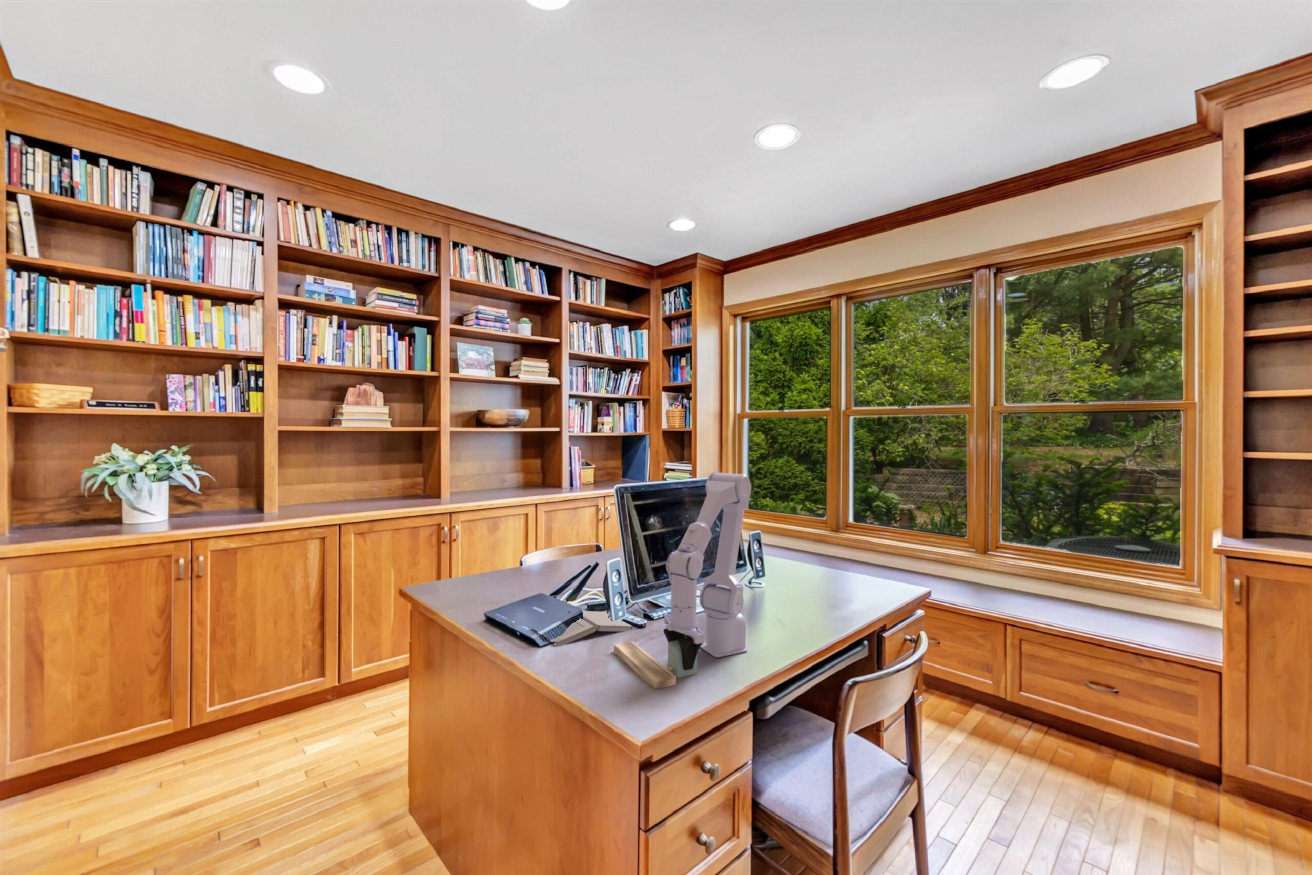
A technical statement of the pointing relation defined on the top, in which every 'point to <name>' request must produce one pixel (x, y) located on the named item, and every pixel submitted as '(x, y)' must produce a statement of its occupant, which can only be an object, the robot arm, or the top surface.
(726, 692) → the top surface
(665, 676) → the plank
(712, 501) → the robot arm
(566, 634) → the gadget
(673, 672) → the green box with tab
